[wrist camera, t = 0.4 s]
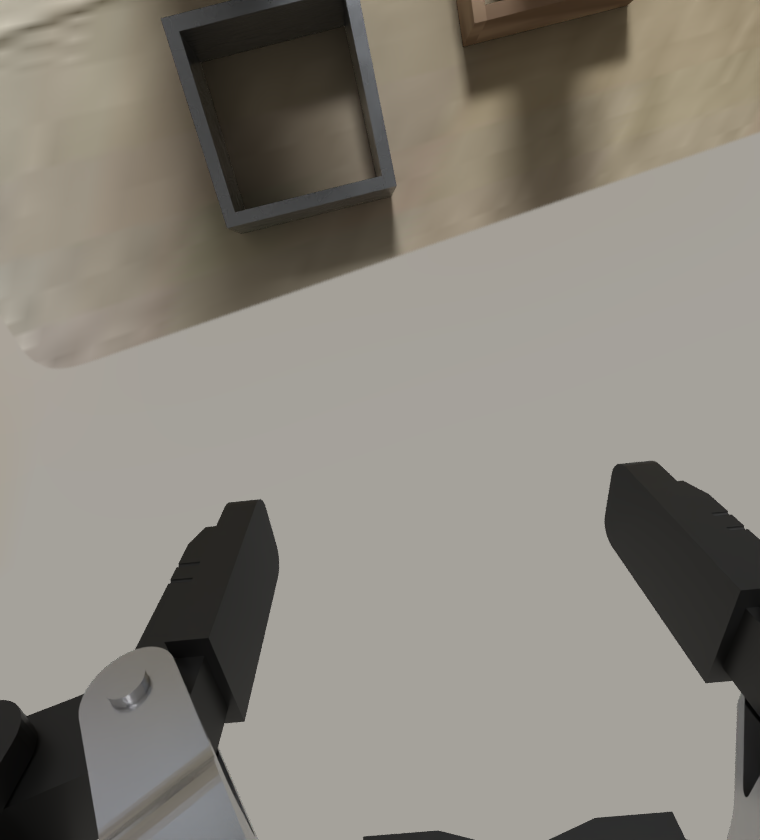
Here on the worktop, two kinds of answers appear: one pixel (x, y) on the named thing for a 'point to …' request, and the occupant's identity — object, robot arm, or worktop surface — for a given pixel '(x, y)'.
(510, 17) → the wooden square tray
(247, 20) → the gray square tray
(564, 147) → the worktop surface
